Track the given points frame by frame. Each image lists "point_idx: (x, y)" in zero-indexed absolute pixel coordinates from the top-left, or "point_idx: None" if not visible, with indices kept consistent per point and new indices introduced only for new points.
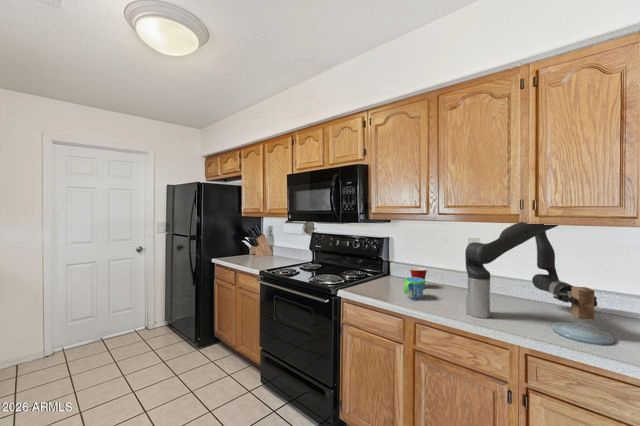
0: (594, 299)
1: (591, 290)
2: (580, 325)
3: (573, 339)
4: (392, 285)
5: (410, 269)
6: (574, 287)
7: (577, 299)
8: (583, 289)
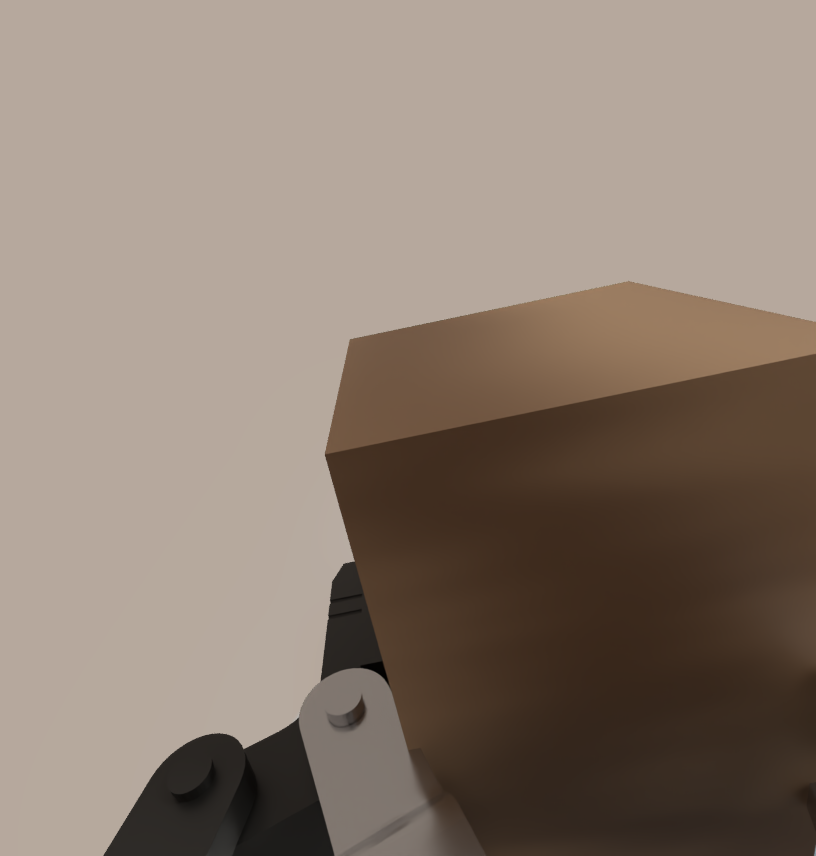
0: (256, 750)
1: (394, 332)
2: None
3: None
4: None
5: None
6: (746, 321)
7: None
8: (527, 319)
